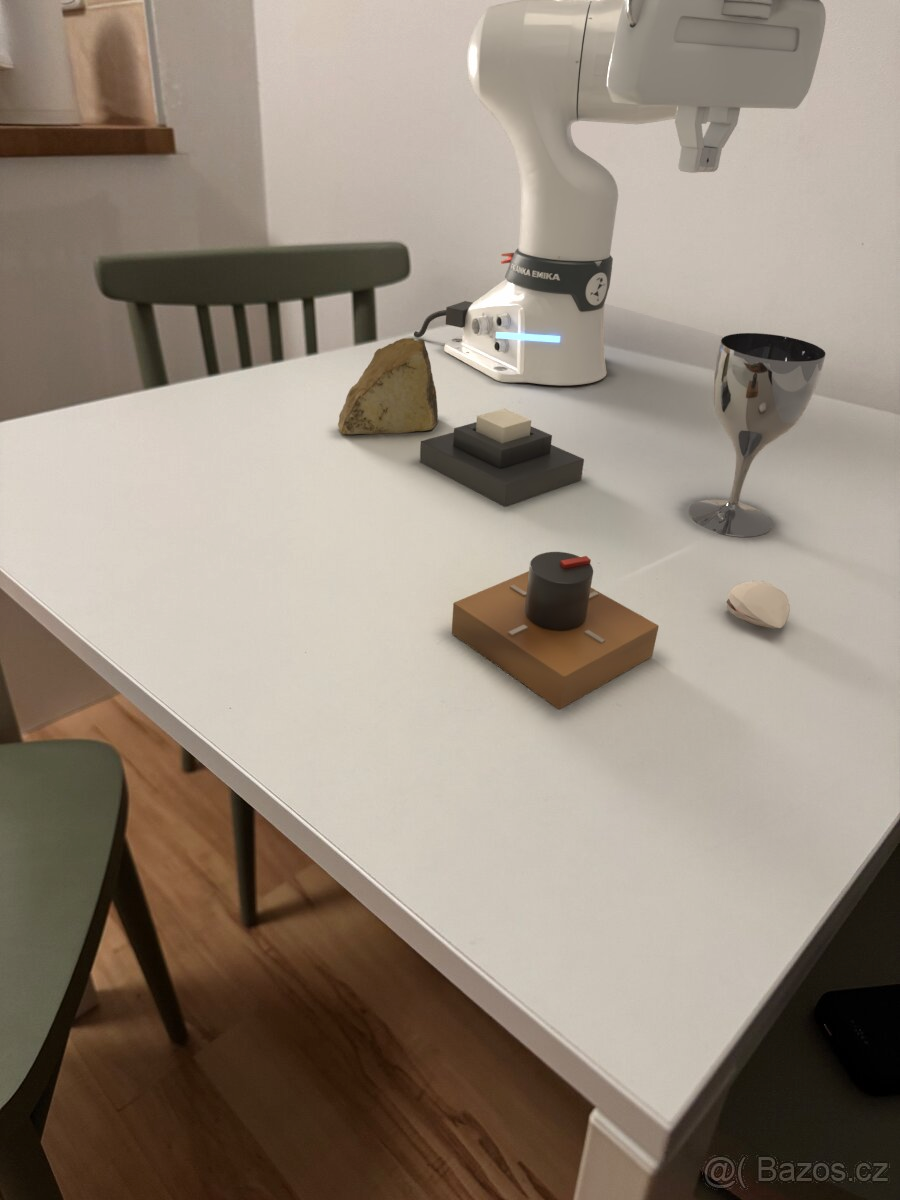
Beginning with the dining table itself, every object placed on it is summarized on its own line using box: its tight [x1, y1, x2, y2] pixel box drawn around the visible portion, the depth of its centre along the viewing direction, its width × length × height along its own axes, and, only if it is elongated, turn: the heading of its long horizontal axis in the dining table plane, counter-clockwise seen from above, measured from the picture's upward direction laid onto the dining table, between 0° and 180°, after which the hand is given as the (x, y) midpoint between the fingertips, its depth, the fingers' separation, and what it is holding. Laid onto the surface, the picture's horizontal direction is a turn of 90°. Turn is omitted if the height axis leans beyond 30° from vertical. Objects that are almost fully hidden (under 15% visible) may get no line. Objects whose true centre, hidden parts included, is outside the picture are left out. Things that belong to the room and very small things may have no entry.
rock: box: [337, 337, 439, 435], centre depth 87 cm, size 11×9×10 cm
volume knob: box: [525, 551, 594, 630], centre depth 54 cm, size 4×4×4 cm
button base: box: [419, 421, 585, 507], centre depth 79 cm, size 12×10×4 cm
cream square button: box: [476, 408, 532, 444], centre depth 78 cm, size 4×4×2 cm
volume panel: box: [451, 570, 659, 710], centre depth 55 cm, size 10×9×3 cm
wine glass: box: [688, 332, 826, 538], centre depth 70 cm, size 8×8×15 cm
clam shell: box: [726, 580, 791, 629], centre depth 59 cm, size 4×5×2 cm
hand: (697, 171), depth 69 cm, fingers closed
